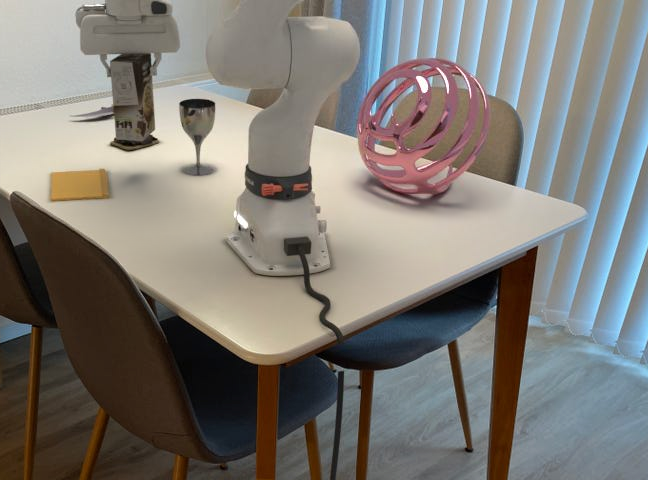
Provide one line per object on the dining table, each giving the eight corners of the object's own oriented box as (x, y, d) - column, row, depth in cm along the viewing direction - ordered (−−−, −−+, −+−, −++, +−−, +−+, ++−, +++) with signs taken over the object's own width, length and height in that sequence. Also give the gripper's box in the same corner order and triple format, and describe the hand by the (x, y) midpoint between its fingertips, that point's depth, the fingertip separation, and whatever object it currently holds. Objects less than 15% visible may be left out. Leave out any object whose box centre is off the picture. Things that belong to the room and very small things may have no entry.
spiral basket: (455, 72, 177) (397, 10, 157) (540, 133, 161) (488, 73, 141) (374, 169, 187) (310, 123, 166) (446, 237, 171) (385, 194, 150)
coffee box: (144, 141, 163) (138, 61, 154) (115, 140, 164) (108, 60, 155) (156, 129, 170) (152, 52, 162) (128, 127, 172) (122, 51, 163)
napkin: (109, 197, 163) (108, 194, 162) (51, 201, 161) (50, 197, 160) (105, 171, 176) (105, 168, 175) (52, 174, 174) (51, 171, 173)
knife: (79, 126, 204) (159, 111, 217) (78, 116, 203) (158, 101, 216) (65, 119, 209) (144, 104, 222) (64, 109, 208) (143, 95, 221)
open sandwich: (128, 152, 187) (127, 137, 185) (107, 144, 192) (106, 129, 190) (162, 143, 193) (161, 128, 191) (140, 135, 198) (139, 121, 196)
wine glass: (173, 169, 177) (171, 103, 169) (198, 161, 182) (197, 96, 174) (198, 178, 173) (197, 110, 165) (222, 169, 178) (222, 103, 169)
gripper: (74, 7, 149) (81, 81, 156) (180, 5, 152) (182, 77, 160) (74, 1, 154) (81, 73, 162) (176, 0, 157) (178, 70, 165)
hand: (132, 75), depth 161 cm, fingers closed on coffee box, 7 cm apart
